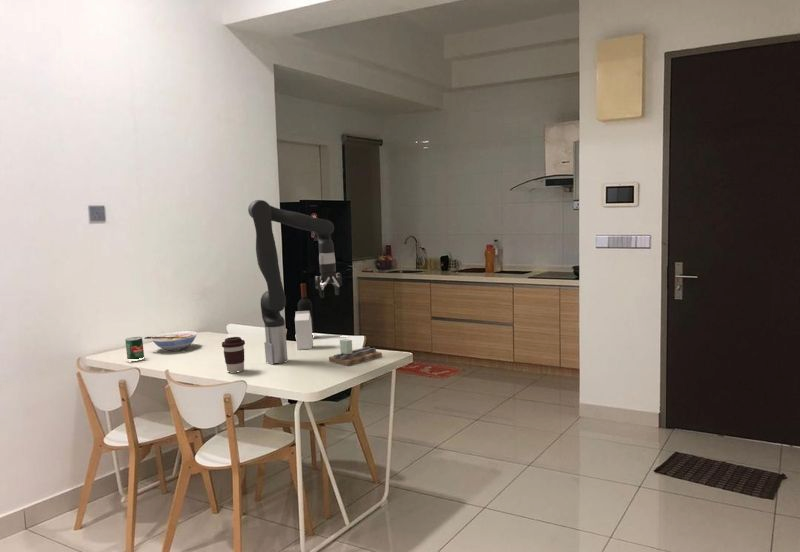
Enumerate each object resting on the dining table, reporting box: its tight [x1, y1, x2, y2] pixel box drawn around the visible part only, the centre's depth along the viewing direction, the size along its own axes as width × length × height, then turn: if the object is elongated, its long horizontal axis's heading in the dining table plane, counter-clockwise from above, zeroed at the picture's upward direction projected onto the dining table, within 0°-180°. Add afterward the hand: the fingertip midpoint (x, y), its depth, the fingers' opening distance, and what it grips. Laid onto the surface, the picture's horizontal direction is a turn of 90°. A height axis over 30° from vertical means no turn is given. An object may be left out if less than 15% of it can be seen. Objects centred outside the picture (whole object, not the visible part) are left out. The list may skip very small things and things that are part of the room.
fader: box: [339, 338, 353, 355], centre depth 288 cm, size 3×5×8 cm, turn 42°
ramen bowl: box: [144, 330, 198, 351], centre depth 335 cm, size 25×23×8 cm
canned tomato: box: [124, 336, 145, 360], centre depth 315 cm, size 8×8×11 cm
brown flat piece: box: [328, 346, 383, 367], centre depth 292 cm, size 20×14×4 cm
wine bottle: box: [297, 283, 315, 334], centre depth 343 cm, size 8×8×30 cm
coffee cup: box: [221, 336, 246, 372], centre depth 282 cm, size 10×10×15 cm
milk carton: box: [294, 310, 314, 351], centre depth 320 cm, size 7×7×19 cm
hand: (329, 296), depth 301 cm, fingers open, 8 cm apart
